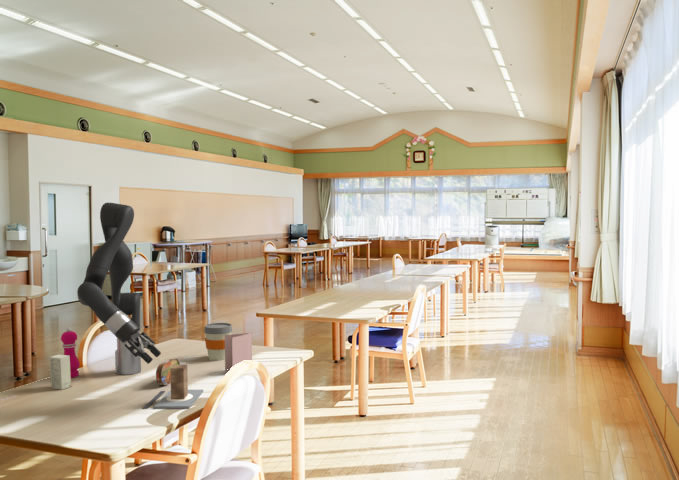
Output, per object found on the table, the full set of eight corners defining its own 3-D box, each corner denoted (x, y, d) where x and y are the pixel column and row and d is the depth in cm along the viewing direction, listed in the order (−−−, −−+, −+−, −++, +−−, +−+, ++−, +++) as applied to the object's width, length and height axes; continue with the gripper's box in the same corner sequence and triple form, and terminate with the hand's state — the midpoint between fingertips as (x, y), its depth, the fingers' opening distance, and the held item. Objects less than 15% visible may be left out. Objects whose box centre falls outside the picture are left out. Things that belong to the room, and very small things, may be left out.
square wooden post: (171, 399, 195) (170, 368, 195) (175, 395, 200) (174, 364, 199) (184, 399, 195) (183, 368, 195) (187, 395, 200) (187, 364, 199)
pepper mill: (60, 379, 223) (59, 330, 222) (60, 375, 229) (58, 326, 228) (80, 377, 226) (79, 328, 225) (79, 372, 233) (78, 325, 232)
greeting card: (251, 367, 240) (251, 332, 239) (255, 371, 233) (254, 335, 232) (224, 369, 236) (224, 334, 235) (227, 374, 229) (227, 338, 228)
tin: (162, 388, 211) (161, 366, 211) (154, 387, 212) (154, 365, 211) (181, 376, 226) (180, 356, 225) (174, 376, 226) (173, 356, 226)
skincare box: (71, 386, 213) (70, 355, 213) (61, 390, 209) (60, 358, 209) (60, 384, 216) (59, 353, 215) (49, 388, 212) (48, 356, 211)
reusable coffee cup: (229, 361, 249) (228, 328, 248) (201, 361, 249) (200, 328, 249) (235, 354, 262) (234, 322, 261) (208, 354, 262) (207, 322, 261)
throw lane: (142, 408, 189) (142, 405, 189) (161, 391, 207) (161, 389, 207) (189, 408, 188) (189, 405, 188) (203, 391, 206) (203, 389, 206)
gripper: (121, 323, 190) (155, 356, 190) (137, 315, 204) (168, 346, 204) (106, 338, 190) (140, 371, 190) (123, 329, 204) (154, 360, 205)
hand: (155, 358), depth 197 cm, fingers open, 8 cm apart
